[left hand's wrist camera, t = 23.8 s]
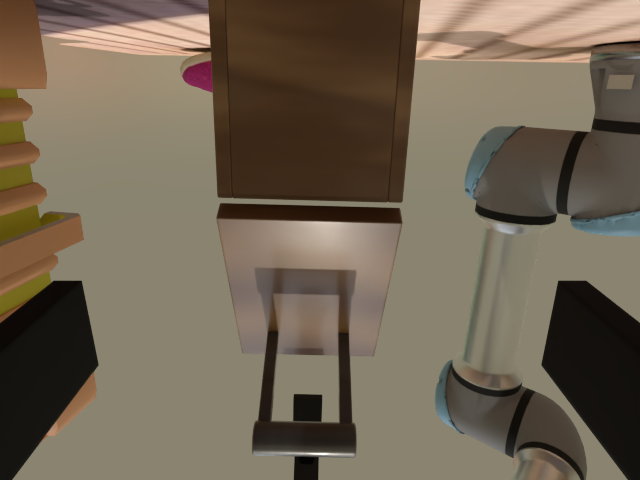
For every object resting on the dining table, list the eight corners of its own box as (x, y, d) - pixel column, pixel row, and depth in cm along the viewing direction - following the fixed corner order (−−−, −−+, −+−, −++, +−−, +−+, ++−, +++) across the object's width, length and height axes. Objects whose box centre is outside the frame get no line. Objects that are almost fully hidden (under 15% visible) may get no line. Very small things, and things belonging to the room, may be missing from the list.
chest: (385, 0, 31) (374, 161, 34) (249, -4, 31) (252, 158, 34) (425, -52, 19) (402, 202, 23) (205, -59, 19) (217, 198, 22)
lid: (372, 342, 32) (382, 473, 26) (244, 339, 32) (225, 469, 26) (400, 207, 23) (425, 361, 17) (219, 202, 23) (181, 355, 17)
